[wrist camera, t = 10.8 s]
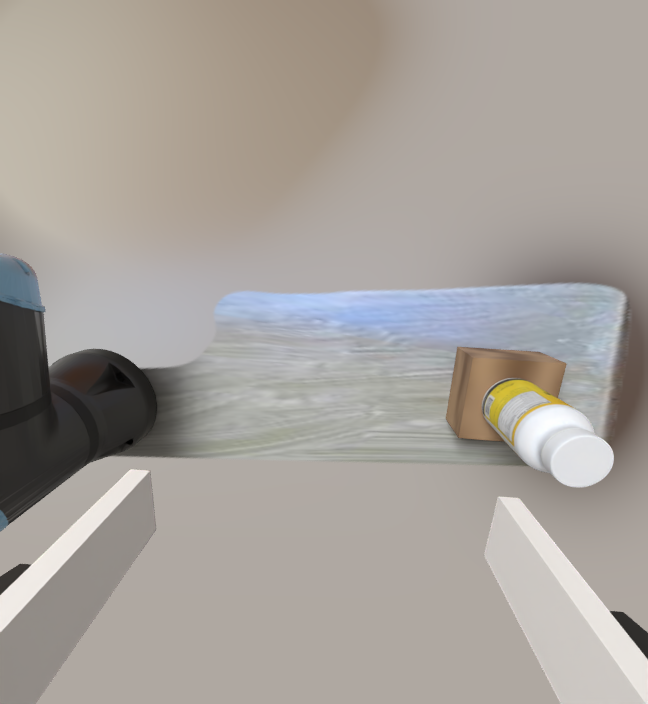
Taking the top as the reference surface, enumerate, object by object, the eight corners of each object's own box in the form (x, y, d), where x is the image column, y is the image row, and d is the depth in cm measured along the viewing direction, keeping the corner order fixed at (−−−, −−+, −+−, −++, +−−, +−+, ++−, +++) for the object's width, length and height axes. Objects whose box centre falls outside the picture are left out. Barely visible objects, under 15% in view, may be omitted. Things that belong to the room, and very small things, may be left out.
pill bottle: (539, 423, 36) (626, 493, 25) (481, 431, 37) (540, 502, 25) (537, 371, 34) (629, 419, 23) (476, 380, 35) (537, 432, 24)
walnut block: (445, 418, 42) (458, 437, 37) (457, 346, 39) (472, 357, 35) (522, 424, 41) (545, 444, 37) (539, 352, 39) (566, 363, 34)
